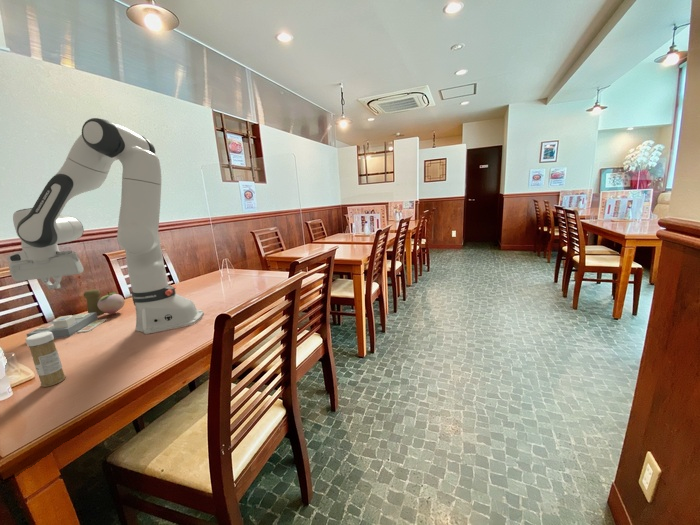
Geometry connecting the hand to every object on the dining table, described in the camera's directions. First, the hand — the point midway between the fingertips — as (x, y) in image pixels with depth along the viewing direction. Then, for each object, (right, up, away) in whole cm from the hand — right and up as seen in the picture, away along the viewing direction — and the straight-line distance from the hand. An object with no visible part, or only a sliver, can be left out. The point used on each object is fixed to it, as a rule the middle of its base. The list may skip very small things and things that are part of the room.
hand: (54, 288), depth 105 cm
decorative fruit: (+11, -13, +14) cm, 22 cm away
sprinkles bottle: (+35, -22, -33) cm, 53 cm away
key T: (+2, -17, -4) cm, 17 cm away
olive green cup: (+3, -13, +15) cm, 20 cm away
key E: (+6, -14, +5) cm, 16 cm away
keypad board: (+4, -16, 0) cm, 16 cm away
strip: (+13, -15, +2) cm, 20 cm away
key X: (+8, -14, -3) cm, 16 cm away
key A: (+1, -15, +3) cm, 15 cm away
